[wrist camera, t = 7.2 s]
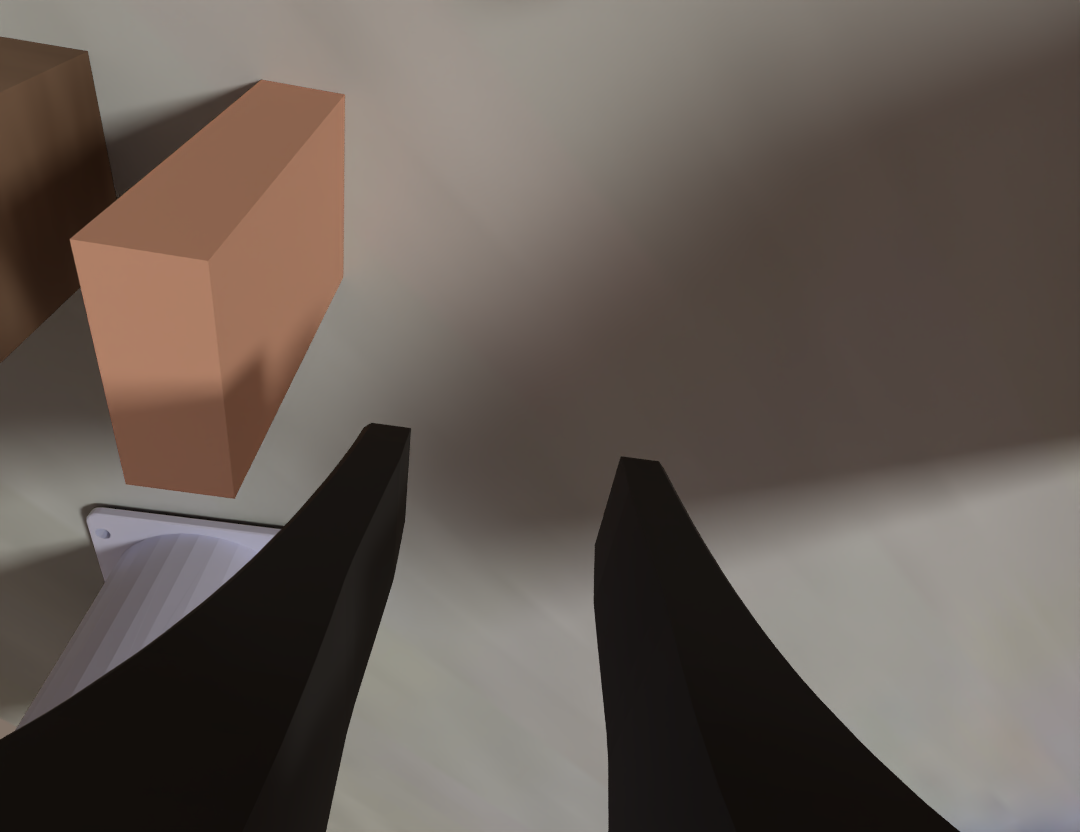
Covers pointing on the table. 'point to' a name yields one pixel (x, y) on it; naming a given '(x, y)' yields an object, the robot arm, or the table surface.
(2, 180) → the domino
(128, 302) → the domino
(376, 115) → the table surface
